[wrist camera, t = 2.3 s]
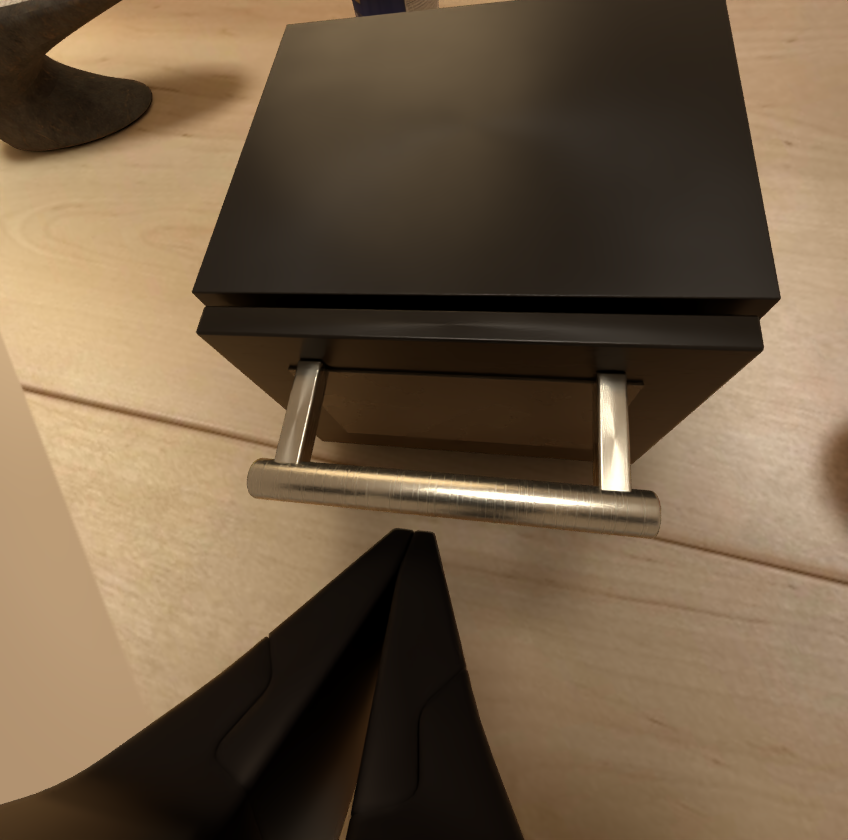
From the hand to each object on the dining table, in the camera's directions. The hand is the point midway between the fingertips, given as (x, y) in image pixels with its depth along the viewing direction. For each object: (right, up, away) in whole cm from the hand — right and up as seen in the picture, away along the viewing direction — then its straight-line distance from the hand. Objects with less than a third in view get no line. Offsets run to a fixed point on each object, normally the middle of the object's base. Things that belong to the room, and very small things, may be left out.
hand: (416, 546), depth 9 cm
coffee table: (-27, +31, +31) cm, 51 cm away
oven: (+4, +8, +17) cm, 19 cm away
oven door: (+2, -1, +12) cm, 12 cm away
